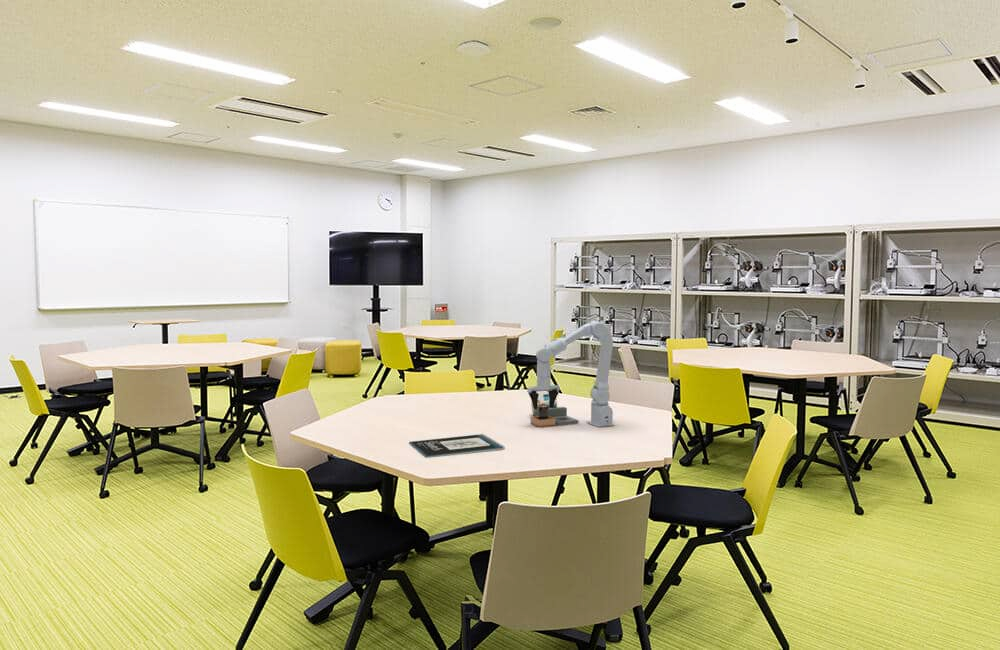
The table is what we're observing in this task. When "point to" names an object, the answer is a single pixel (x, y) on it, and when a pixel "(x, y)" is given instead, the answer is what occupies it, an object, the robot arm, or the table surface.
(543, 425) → the tray
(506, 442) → the table surface
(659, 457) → the table surface
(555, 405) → the light bulb box
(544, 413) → the battery cell
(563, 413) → the grey rectangular holed block
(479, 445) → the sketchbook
